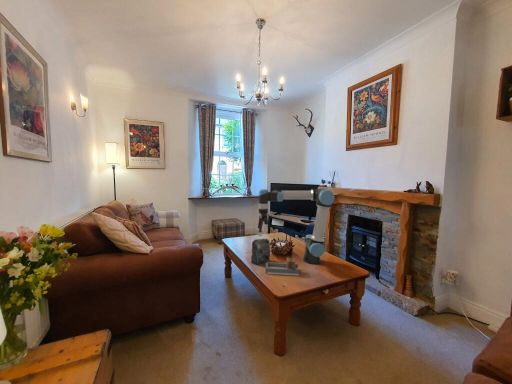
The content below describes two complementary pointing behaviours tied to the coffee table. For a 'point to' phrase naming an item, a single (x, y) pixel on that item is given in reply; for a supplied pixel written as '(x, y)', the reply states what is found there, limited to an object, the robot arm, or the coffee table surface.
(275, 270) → the chute
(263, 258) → the stone block
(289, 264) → the walnut block
